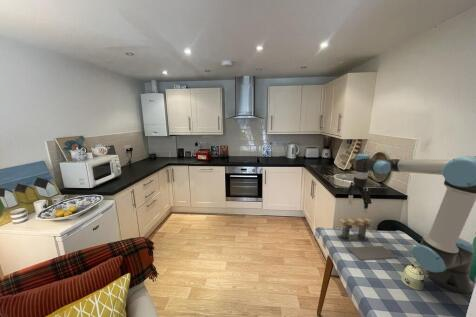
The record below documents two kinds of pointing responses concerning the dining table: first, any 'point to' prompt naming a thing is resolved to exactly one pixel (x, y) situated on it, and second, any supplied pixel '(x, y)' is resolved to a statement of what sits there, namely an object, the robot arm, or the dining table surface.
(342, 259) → the dining table surface
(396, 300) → the dining table surface
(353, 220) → the bread loaf
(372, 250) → the mat
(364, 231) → the stand
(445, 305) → the dining table surface
